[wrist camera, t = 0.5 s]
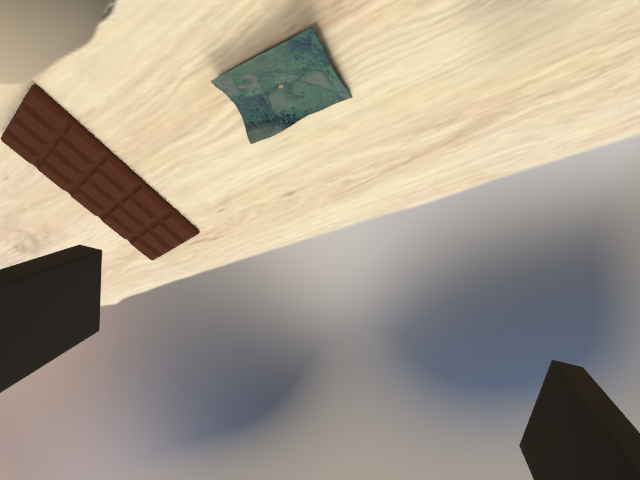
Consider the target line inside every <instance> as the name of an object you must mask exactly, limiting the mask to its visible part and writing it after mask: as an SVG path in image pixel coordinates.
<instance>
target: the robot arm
mask: <svg viewBox="0 0 640 480" xmlns="http://www.w3.org/2000/svg"><path fill="white" fill-rule="evenodd" d="M101 262H102V250H99V249H95V248H91V247H87V246H83V245H77V246H74V247H71V248H67V249H64V250H61V251H58V252H55V253H52V254H48V255H45V256H42V257H39V258H36V259H32V260H29V261H26V262H23V263H20V264H16V265H13V266H10V267H7V268H4V269H1V270H0V393H1V392H2V391H4V390H5V389H7V388H9V387H10V386H12V385H13V384H15V383H17V382H18V381H20V380H21V379H23V378H25V377H26V376H28V375H29V374H31V373H33V372H34V371H36V370H37V369H39V368H40V367H42V366H44V365H45V364H47V363H48V362H50V361H52V360H53V359H55V358H56V357H58V356H59V355H61V354H63V353H64V352H66V351H67V350H69V349H71V348H72V347H74V346H75V345H77V344H79V343H80V342H82V341H84V340H85V339H87V338H88V337H90V336H92V335H93V334H95V333H96V332H98V331H99V322H100V293H101ZM520 448H521V450H522V453H523V455H524V457H525V460H526V462H527V464H528V467H529V469H530V471H531V474H532V476H533V479H534V480H640V433H639V432H638V431H637V429H636V428H635V427H634V426H633V425H632V424H631V422H630V421H629V420H628V419H627V418H626V417H625V415H624V414H623V413H622V412H621V411H620V410H619V409H618V407H617V406H616V405H615V404H614V403H613V402H612V400H611V399H610V398H609V397H608V396H607V395H606V393H605V392H604V391H603V390H602V389H601V388H600V387H599V385H598V384H597V383H596V382H595V381H594V380H593V378H592V377H591V376H590V375H589V374H588V373H587V372H586V370H585V369H584V368H583V367H579V366H575V365H571V364H567V363H563V362H559V361H555V360H552V361H551V364H550V367H549V369H548V372H547V375H546V377H545V380H544V382H543V385H542V388H541V390H540V393H539V396H538V398H537V401H536V403H535V406H534V409H533V411H532V414H531V417H530V419H529V422H528V424H527V427H526V430H525V432H524V435H523V438H522V440H521V443H520Z"/></svg>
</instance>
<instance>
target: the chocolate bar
mask: <svg viewBox="0 0 640 480" xmlns="http://www.w3.org/2000/svg"><path fill="white" fill-rule="evenodd" d="M1 140H2V142H4V143H5V144H6V145H8V146H9V147H10V148H11V149H13V150H14V151H15V152H16V153H18V154H19V155H20V156H21V157H23V158H24V159H25V160H26V161H28V162H29V163H31V164H33V165H34V166H36V167H37V169H38V170H39V171H40V172H41V173H43V174H44V175H45V176H46V177H48V178H49V179H50V180H51V181H53V182H54V183H55V184H56V185H58V186H59V187H60V188H61V189H63V190H65V191H67V192H68V193H69V194H70V195H71V196H72V197H73V198H74V199H75V200H76V201H78V202H79V203H80V204H81V205H83V206H84V207H85V208H86V209H88V210H89V211H90V212H91V213H93V214H94V215H96V216H98V217H100V218H101V220H102V221H103V222H104V223H105V224H107V225H108V226H109V227H110V228H112V229H113V230H114V231H115V232H117V233H118V234H119V235H120V236H122V237H123V238H125V239H127V240H128V241H129V242H130V243H131V244H132V245H133V246H134V247H135V248H137V249H138V250H139V251H140V252H142V253H143V254H144V255H145V256H147V257H148V258H149V259H150V260H155V259H156V258H158V257H160V256H161V255H163V254H165V253H167V252H168V251H170V250H172V249H173V248H175V247H177V246H179V245H180V244H182V243H184V242H185V241H187V240H189V239H191V238H192V237H194V236H196V235H197V234H199V231H198V230H197V229H196V228H195V227H194V226H193V225H192V224H190V223H189V222H188V221H187V220H186V219H185V218H184V217H183V216H181V215H180V214H179V213H178V212H177V211H176V210H175V209H174V208H173V207H171V206H170V205H169V204H168V203H167V202H166V201H165V200H164V199H163V198H161V197H160V196H159V195H158V194H157V193H156V192H155V191H154V190H153V189H151V188H150V187H149V186H148V185H147V184H146V183H145V182H144V181H142V180H141V179H140V178H139V177H138V176H137V175H136V174H135V173H134V172H132V171H131V170H130V169H129V168H128V167H127V166H126V165H125V164H124V163H122V162H121V161H120V160H119V159H118V158H117V157H116V156H115V155H113V154H112V153H111V152H110V151H109V150H108V149H107V148H106V147H105V146H103V145H102V144H101V143H100V142H99V141H98V140H97V139H96V138H95V137H93V136H92V135H91V134H90V133H89V132H88V131H87V130H86V129H84V128H83V127H82V126H81V125H80V124H79V123H78V122H77V121H76V120H74V119H73V118H72V117H71V116H70V115H69V114H68V113H67V112H66V111H64V110H63V109H62V108H61V107H60V106H59V105H58V104H57V103H55V102H54V101H53V100H52V99H51V98H50V97H49V96H48V95H47V94H45V93H44V92H43V91H42V90H41V89H40V88H39V87H38V86H37V85H35V84H34V85H32V86H31V88H30V89H29V91H28V93H27V94H26V96H25V98H24V99H23V101H22V103H21V105H20V106H19V108H18V110H17V111H16V113H15V115H14V116H13V118H12V120H11V121H10V123H9V125H8V126H7V128H6V130H5V132H4V133H3V135H2V137H1Z"/></svg>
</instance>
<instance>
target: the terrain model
mask: <svg viewBox="0 0 640 480" xmlns="http://www.w3.org/2000/svg"><path fill="white" fill-rule="evenodd" d="M211 82H212V83H213V84H214V85H215V86H216V87H217V88H218V89H220V90H222V91H223V92H224V93H225V94H226V95H227V96H228V97H229V98H230V99H231V101H232V102H233V103H234V104H235V105H236V106H237V108H238V110H239V112H240V114H241V116H242V118H243V121H244V124H245V128H246V132H247V136H248V139H249V141H250V143H251V144H253V143H255V142H258V141H260V140H263V139H266V138H269V137H272V136H274V135H276V134H278V133H279V132H281V131H283V130H285V129H286V128H288V127H290V126H291V125H293V124H294V123H296V122H297V121H299V120H300V119H302V118H304V117H305V116H307V115H309V114H312V113H315V112H318V111H320V110H323V109H325V108H327V107H329V106H331V105H333V104H335V103H338V102H340V101H343V100H346V99H349V98H352V96H351V94H350V93H349V91H348V90H347V89H346V88H345V86H344V85H343V83H342V82H341V81H340V79H339V78H338V77H337V75H336V74H335V72H334V70H333V69H332V67H331V65H330V63H329V61H328V59H327V56H326V54H325V51H324V49H323V46H322V45H321V43H320V41H319V39H318V37H317V36H316V34H315V33H314V32H313V30H312V29H311V28H310V29H308V30H306V31H304V32H302V33H301V34H299V35H297V36H295V37H294V38H292V39H290V40H288V41H285V42H283V43H282V44H280V45H278V46H276V47H274V48H273V49H271V50H269V51H267V52H265V53H263V54H260V55H258V56H256V57H254V58H253V59H251V60H249V61H247V62H245V63H243V64H241V65H239V66H238V67H236V68H235V69H232V70H230V71H228V72H226V73H224V74H222V75H221V76H219V77H217V78H215V79H214V80H212V81H211Z"/></svg>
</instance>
